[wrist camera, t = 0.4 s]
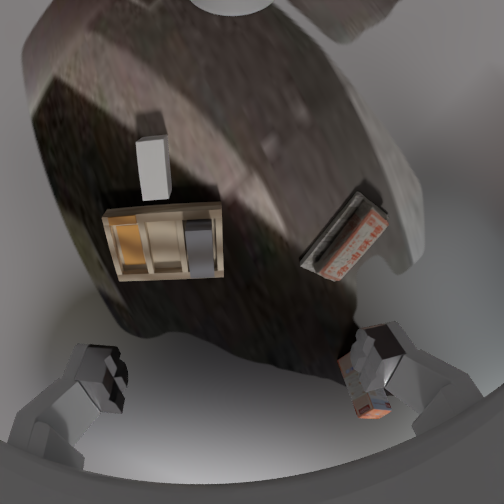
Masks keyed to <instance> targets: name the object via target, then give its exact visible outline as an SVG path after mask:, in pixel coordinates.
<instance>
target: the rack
mask: <svg viewBox="0 0 504 504" xmlns="http://www.w3.org/2000/svg"><path fill="white" fill-rule="evenodd" d="M102 221H103V225H104V229H105V233H106V237H107V241H108V244H109V248H110V252H111V255H112V259H113V262H114V265H115V269H116V272H117V275H118V278H119V281H144V280H171V279H194V278H215V277H224V269H223V240H222V207H221V201H220V202H198V203H180V204H165V205H151V206H138V207H126V208H116V209H107V210H106V212H105V213H104V215H103V216H102Z"/></svg>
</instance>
